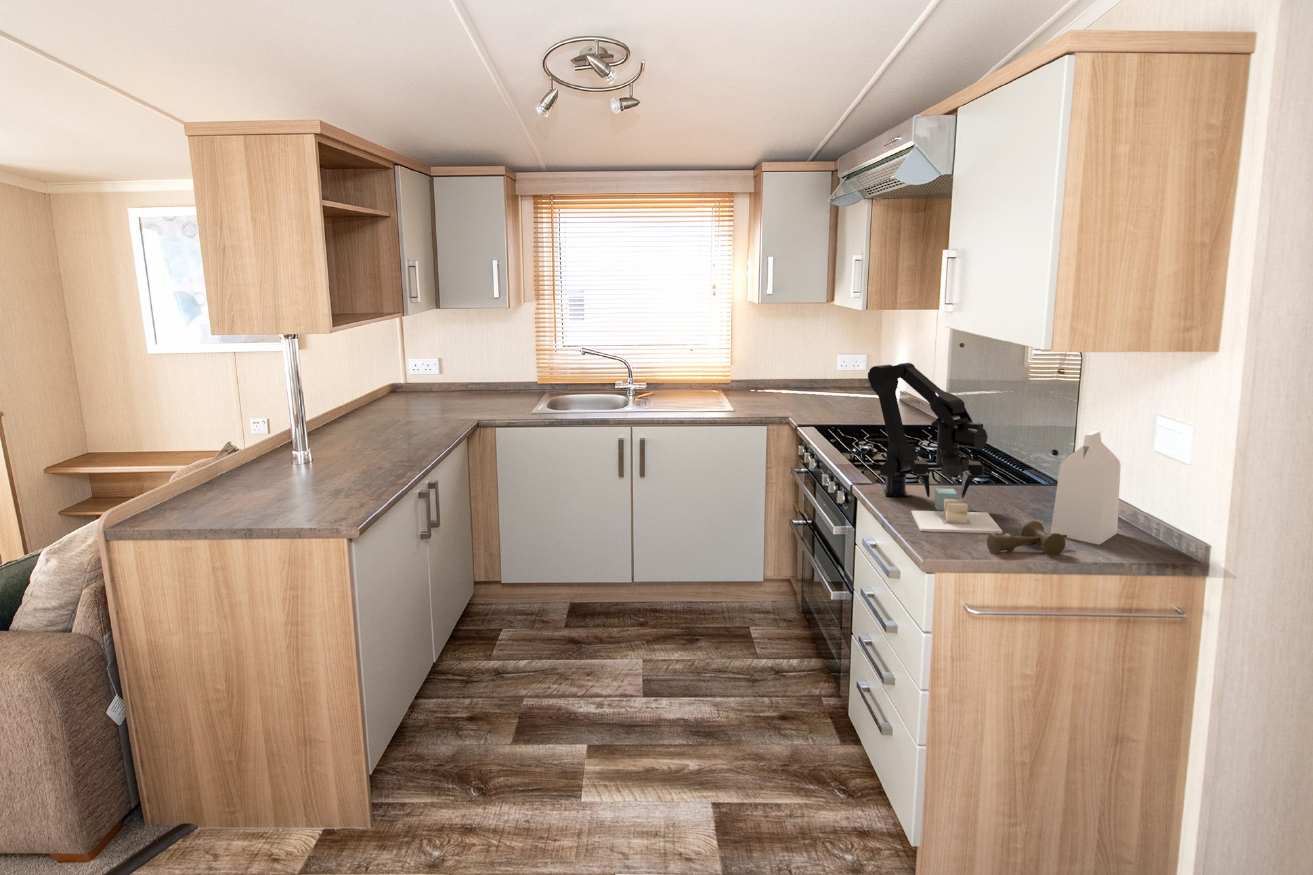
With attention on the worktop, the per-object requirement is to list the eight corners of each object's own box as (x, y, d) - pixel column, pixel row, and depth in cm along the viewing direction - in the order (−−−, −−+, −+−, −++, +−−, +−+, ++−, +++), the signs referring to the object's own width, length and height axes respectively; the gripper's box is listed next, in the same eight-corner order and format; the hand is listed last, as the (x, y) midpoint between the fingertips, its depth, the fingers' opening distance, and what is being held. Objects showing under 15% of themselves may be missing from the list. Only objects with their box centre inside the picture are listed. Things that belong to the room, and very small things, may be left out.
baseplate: (911, 512, 223) (911, 510, 223) (987, 514, 220) (987, 512, 220) (920, 531, 208) (920, 528, 208) (1002, 533, 204) (1002, 530, 204)
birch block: (943, 516, 216) (944, 499, 215) (962, 517, 216) (963, 499, 215) (946, 522, 212) (947, 504, 211) (966, 523, 211) (967, 504, 210)
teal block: (934, 505, 230) (935, 488, 229) (952, 505, 229) (953, 488, 228) (937, 510, 225) (938, 493, 224) (956, 511, 225) (957, 493, 224)
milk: (1069, 523, 211) (1077, 426, 206) (1117, 533, 203) (1127, 432, 198) (1050, 534, 203) (1058, 433, 198) (1099, 544, 195) (1109, 439, 190)
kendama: (978, 549, 196) (1053, 540, 199) (1002, 563, 186) (1079, 554, 190) (980, 525, 194) (1055, 517, 197) (1003, 539, 185) (1081, 530, 188)
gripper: (917, 448, 217) (915, 504, 221) (990, 450, 214) (986, 506, 218) (911, 440, 228) (909, 493, 231) (980, 441, 225) (977, 495, 228)
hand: (945, 497), depth 227 cm, fingers open, 9 cm apart
